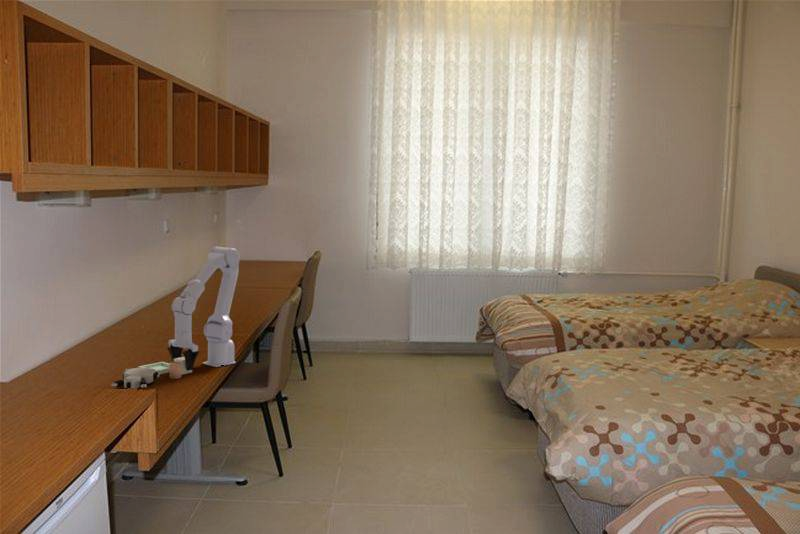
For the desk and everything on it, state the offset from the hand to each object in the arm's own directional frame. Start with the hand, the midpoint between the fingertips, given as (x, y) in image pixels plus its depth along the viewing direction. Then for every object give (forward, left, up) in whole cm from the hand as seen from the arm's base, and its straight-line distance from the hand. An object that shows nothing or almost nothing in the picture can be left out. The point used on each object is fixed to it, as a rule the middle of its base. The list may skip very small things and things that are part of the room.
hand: (183, 368), depth 253 cm
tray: (+4, -8, -1) cm, 9 cm away
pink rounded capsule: (+6, +4, -2) cm, 7 cm away
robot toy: (+21, +4, -2) cm, 21 cm away
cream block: (0, 0, -2) cm, 2 cm away
